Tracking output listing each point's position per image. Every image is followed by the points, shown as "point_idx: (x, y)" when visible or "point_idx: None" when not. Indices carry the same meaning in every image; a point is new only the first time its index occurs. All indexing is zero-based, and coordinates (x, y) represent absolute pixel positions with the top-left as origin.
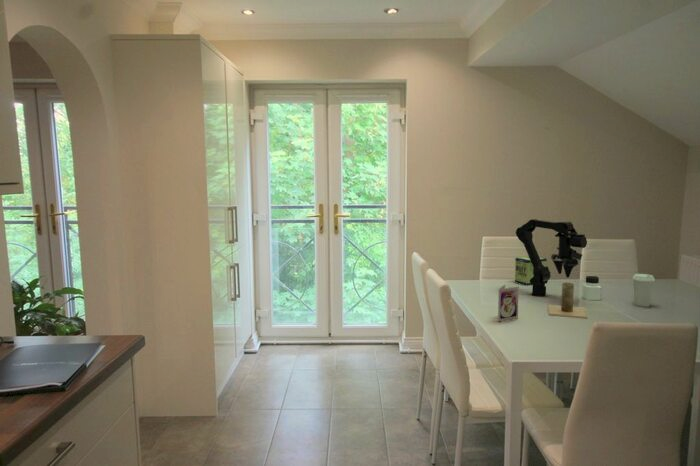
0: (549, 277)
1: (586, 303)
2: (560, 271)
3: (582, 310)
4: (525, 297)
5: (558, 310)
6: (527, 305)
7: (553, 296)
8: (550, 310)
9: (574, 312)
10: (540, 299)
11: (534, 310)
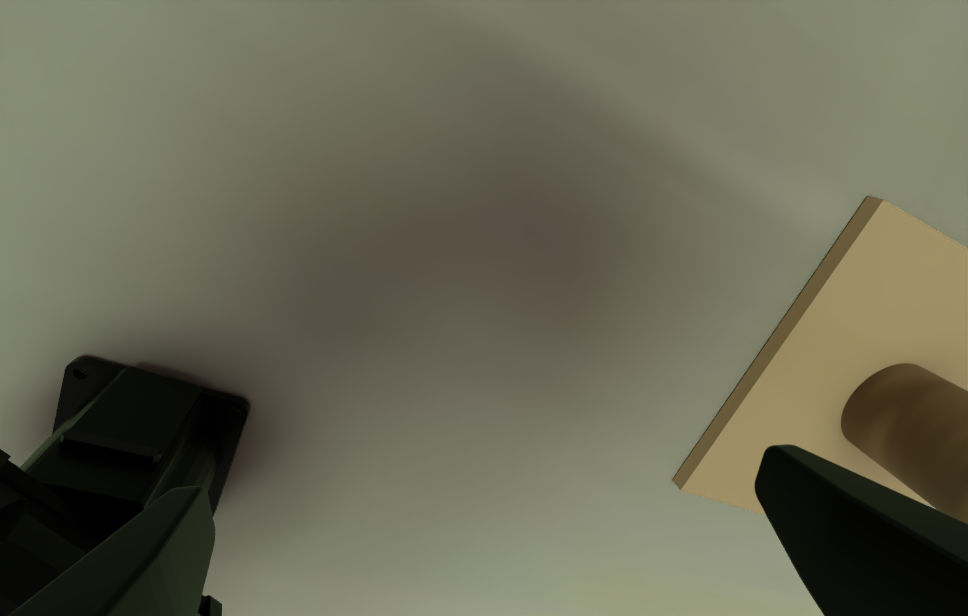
0: (36, 552)
1: (658, 10)
2: (172, 575)
3: (947, 271)
4: (312, 581)
5: (857, 468)
6: (602, 610)
7: (241, 293)
8: None
9: (960, 370)
10: (403, 476)
11: (743, 592)
